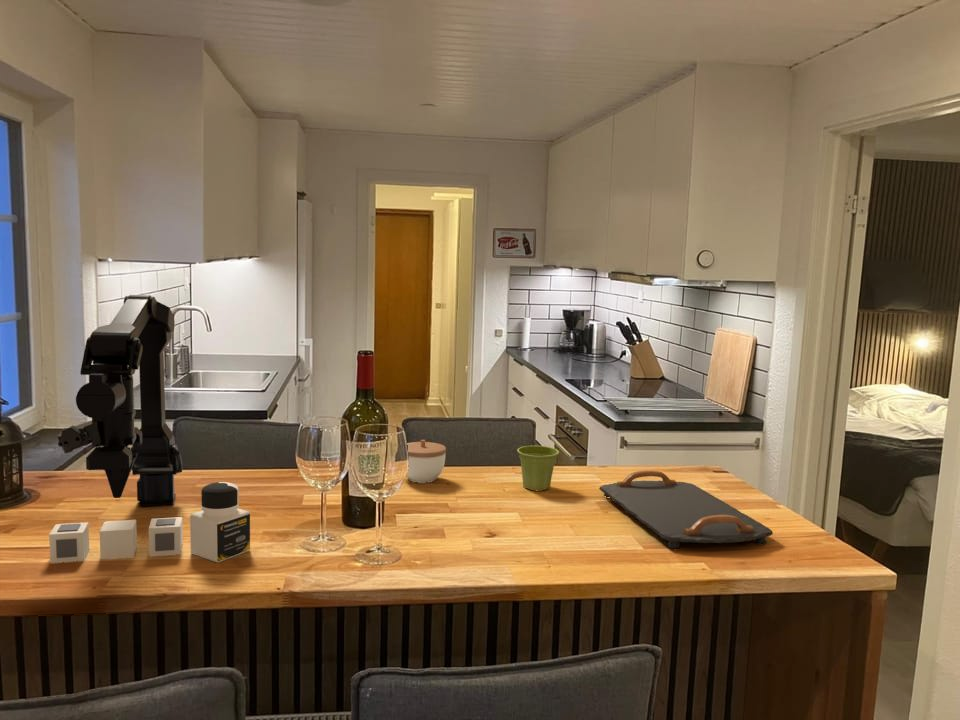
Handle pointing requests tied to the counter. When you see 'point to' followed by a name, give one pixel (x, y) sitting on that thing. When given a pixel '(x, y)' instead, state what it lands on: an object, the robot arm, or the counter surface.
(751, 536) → the serving board
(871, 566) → the counter surface
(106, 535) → the plain cube
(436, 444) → the lidded jar
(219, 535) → the medicine bottle
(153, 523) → the labelled cube a
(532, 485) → the plant pot
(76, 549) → the labelled cube
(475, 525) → the counter surface
